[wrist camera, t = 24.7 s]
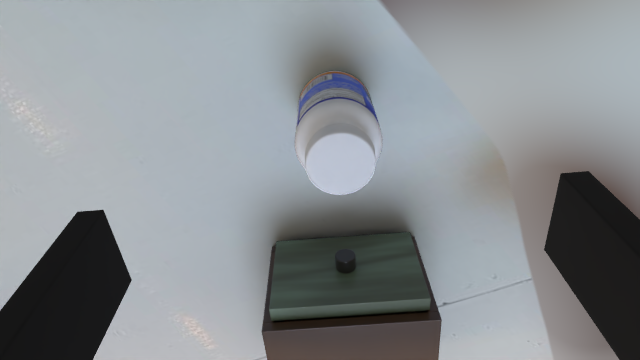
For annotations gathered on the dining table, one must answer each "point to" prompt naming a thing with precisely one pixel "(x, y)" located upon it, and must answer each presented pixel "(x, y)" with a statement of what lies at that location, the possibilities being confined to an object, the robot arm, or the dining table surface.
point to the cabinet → (354, 333)
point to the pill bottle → (337, 133)
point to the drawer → (347, 278)
